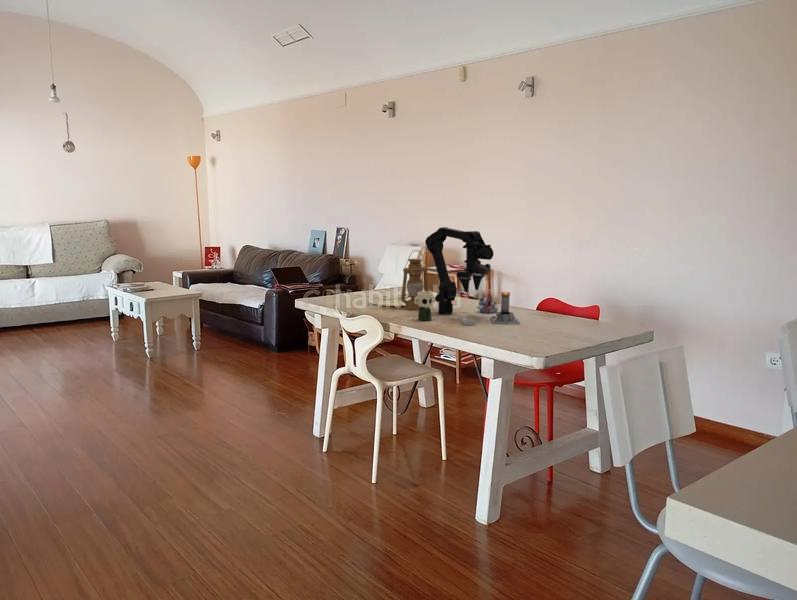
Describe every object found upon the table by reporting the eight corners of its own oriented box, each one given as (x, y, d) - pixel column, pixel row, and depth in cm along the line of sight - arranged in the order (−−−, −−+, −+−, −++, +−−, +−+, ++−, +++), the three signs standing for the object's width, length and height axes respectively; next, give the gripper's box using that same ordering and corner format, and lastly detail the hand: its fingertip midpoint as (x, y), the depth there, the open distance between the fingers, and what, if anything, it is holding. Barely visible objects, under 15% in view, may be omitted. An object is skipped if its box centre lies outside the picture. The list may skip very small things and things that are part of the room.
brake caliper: (499, 310, 314) (485, 289, 315) (481, 322, 318) (467, 302, 319) (504, 306, 324) (490, 286, 325) (487, 318, 328) (473, 298, 330)
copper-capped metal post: (502, 320, 295) (503, 293, 293) (498, 318, 299) (499, 292, 297) (510, 319, 296) (511, 293, 294) (506, 318, 300) (507, 291, 298)
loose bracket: (462, 325, 289) (462, 320, 288) (461, 322, 297) (461, 316, 296) (473, 325, 289) (474, 320, 288) (472, 322, 296) (472, 316, 296)
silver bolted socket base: (493, 324, 292) (493, 315, 292) (490, 318, 304) (490, 310, 303) (519, 324, 292) (520, 315, 291) (515, 319, 304) (516, 310, 303)
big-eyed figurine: (417, 322, 296) (417, 294, 294) (411, 319, 302) (411, 292, 300) (438, 320, 300) (438, 292, 298) (431, 317, 307) (431, 290, 304)
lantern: (410, 311, 322) (410, 251, 317) (397, 308, 330) (397, 250, 325) (432, 308, 332) (433, 250, 327) (419, 305, 340) (419, 248, 335)
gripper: (477, 261, 289) (476, 295, 291) (497, 257, 303) (496, 290, 306) (456, 259, 295) (455, 293, 298) (476, 256, 310) (476, 288, 312)
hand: (471, 291), depth 303 cm, fingers open, 9 cm apart
